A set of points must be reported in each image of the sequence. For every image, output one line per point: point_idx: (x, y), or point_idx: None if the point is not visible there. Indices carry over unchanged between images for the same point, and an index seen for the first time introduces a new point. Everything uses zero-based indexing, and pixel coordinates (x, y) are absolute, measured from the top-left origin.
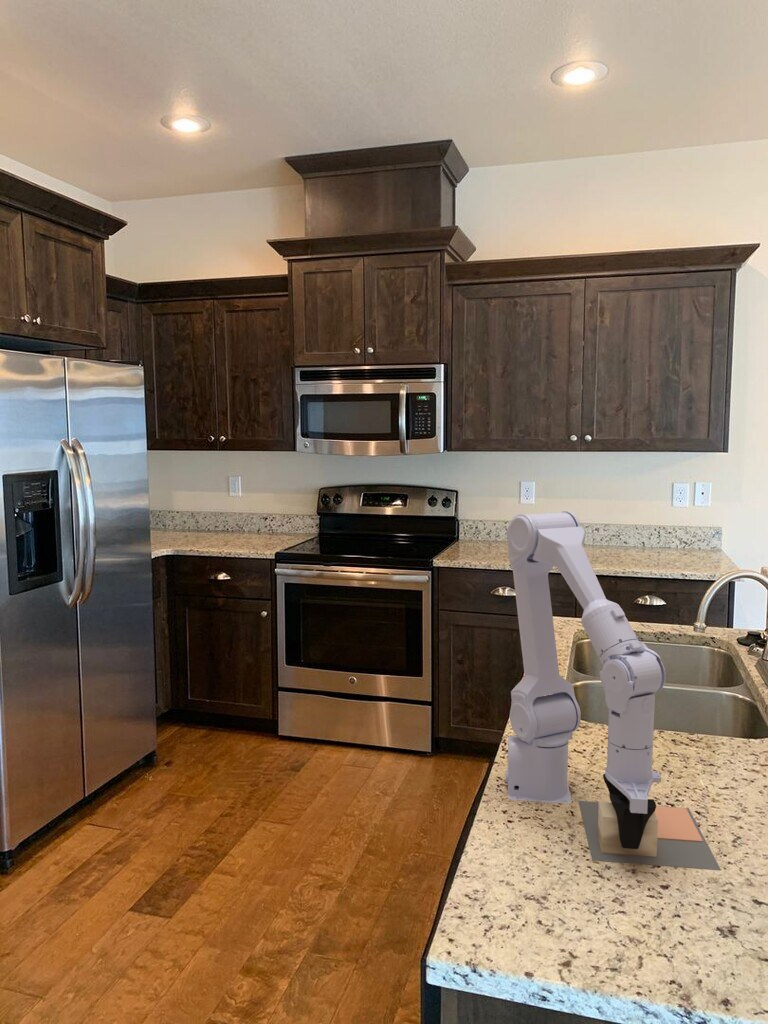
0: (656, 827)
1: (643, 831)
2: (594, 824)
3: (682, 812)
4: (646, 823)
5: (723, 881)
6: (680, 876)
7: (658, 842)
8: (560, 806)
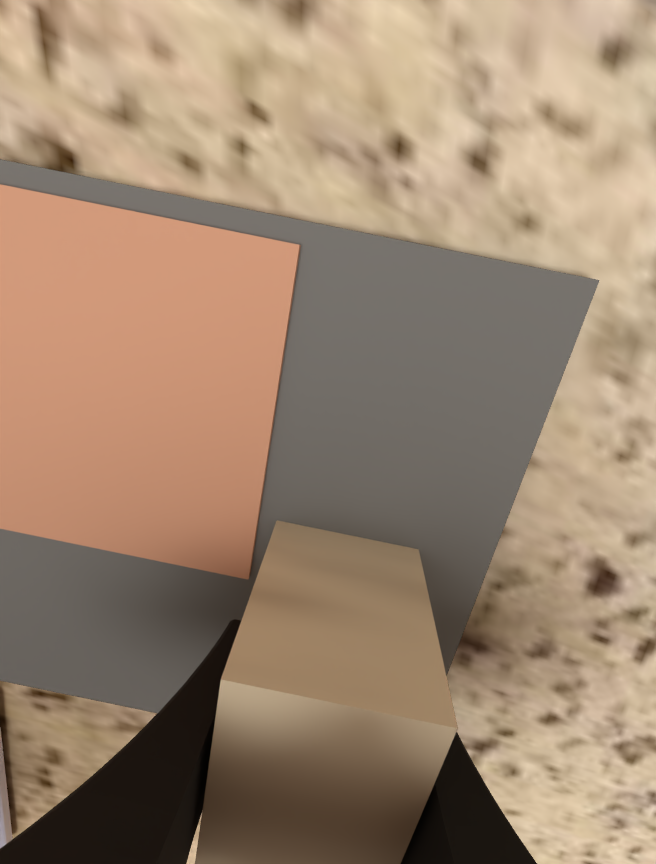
0: (443, 683)
1: (464, 750)
2: (151, 679)
3: None
4: (510, 826)
5: (643, 296)
6: (548, 487)
7: (296, 491)
8: (3, 713)
